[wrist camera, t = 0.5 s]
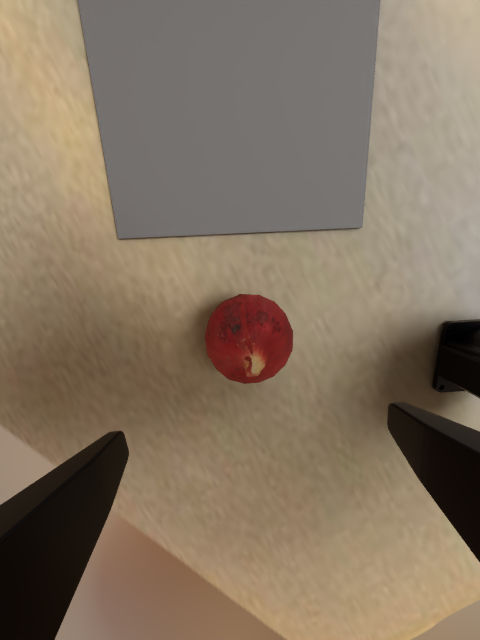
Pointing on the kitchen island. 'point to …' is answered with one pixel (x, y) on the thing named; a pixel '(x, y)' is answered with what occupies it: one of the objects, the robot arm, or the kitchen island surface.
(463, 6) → the kitchen island surface
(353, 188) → the mat
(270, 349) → the onion
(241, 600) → the kitchen island surface
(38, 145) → the kitchen island surface
